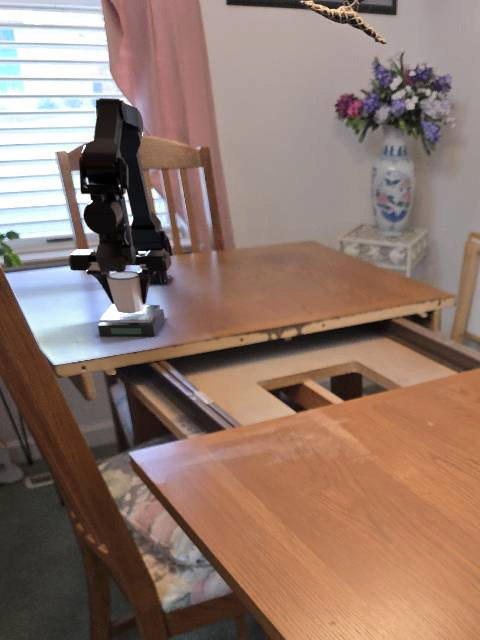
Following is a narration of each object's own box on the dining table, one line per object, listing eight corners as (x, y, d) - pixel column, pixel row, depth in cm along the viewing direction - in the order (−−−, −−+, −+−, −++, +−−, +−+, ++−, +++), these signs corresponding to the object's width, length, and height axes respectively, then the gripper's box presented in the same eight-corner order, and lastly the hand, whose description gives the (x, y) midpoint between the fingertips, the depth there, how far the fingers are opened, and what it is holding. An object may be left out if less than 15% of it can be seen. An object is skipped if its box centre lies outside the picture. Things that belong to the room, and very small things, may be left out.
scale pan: (112, 307, 152) (111, 304, 151) (160, 307, 153) (159, 305, 152) (100, 322, 144) (99, 319, 143) (150, 322, 145) (150, 320, 144)
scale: (113, 318, 154) (110, 306, 152) (164, 319, 155) (163, 307, 153) (99, 336, 144) (96, 324, 143) (154, 336, 145) (152, 324, 144)
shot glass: (152, 305, 150) (146, 271, 146) (139, 315, 145) (133, 280, 140) (121, 303, 151) (114, 269, 146) (107, 313, 145) (99, 278, 141)
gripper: (51, 231, 130) (71, 315, 140) (154, 233, 132) (167, 316, 141) (68, 218, 139) (86, 298, 149) (165, 220, 141) (177, 299, 150)
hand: (129, 303), depth 147 cm, fingers closed on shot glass, 6 cm apart
